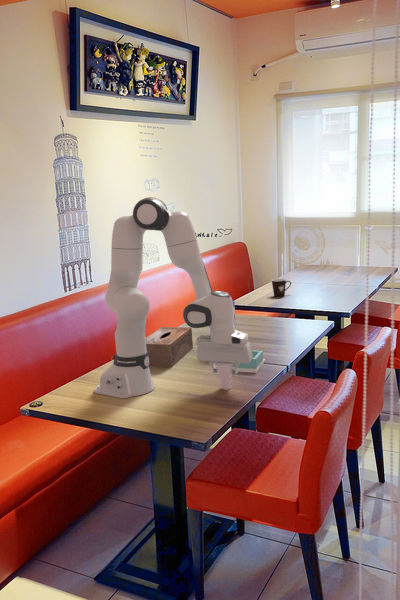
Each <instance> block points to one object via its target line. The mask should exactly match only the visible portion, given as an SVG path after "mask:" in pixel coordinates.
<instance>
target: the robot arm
mask: <svg viewBox="0 0 400 600" xmlns="http://www.w3.org/2000/svg"><path fill="white" fill-rule="evenodd" d="M113 223H114V224H113V228H112V234H111V245H110V246H111V250H110V251H111V255H110V257H111V258H110V259H111V260H110V263H111V264H110V265H111V266H110V268H111V269H110V275H109V281H108V287H107V290H106V292H105V295H104V297H105V298H104V299H105V303H106V305H107V307H108V308H109V309H110V311H112V312H114V313H116V317H117V320H116V330H115V331H114V332H115V333H114V340H115V341H114V342H115V349H116V350H115V351H116V353H114V354H113V355H112V356H111V357H110V360H111V361H112V360H113V362H112V364H111V365H110V366H108V368H106V369H105V370H103V372H102V373H101V375H100V377H99V384H98V385H96V386H95V388H94V390H93V391H94V394H98V395H102V396H103V395H104V396H110V397H114V398H118V399H127V398H128V399H129V398H131V397H136V396H141V395H145V394H148V393H150V392H151V391H153V390H155V383H154V382H153V381H154V380H153V379H152V375H151V370H150V366H149V356H148V351H147V348H146V338H147V336H146V324H147V316H148V314H149V312H150V308H151V304H150V303H151V302H150V300H149V298H148V297H147V296H146V295H145V293H144V292H143V291H141V290H139V289H138V283H139V279H140V276H141V273H142V271H143V263H144V262H143V261H144V257H143V256H144V255H143V253H144V251H143V250H144V249H143V248H144V247H143V246H144V245H143V243H144V235H145V233H146V231H158V232H161V234H162V235H163V238H164V241H165V246H166V249H167V254H168V257H169V259H170V261H171V263H172V264H173V265H174V266H175V267H177V268H179V269H180V270H183V271H185V272H186V273H187V274H188V275H189V277H190V280H191V283H192V286H193V290H194V293H195V299H194V300H193V301H191V302H190V303H188V304H187V305H186V306H185V307H184V309H183V312H182V317H183V320H184V323H185V324H186V325H187V326H189V327H191V328H192V329H201V328H206V327H208V328H209V331H210V335H204V334H202V335H201V334H200V335H199V336H197V337H196V339H195V340H196V341H195V342H196V346H197V347H196V359H197V360H198V361H199V362H202V361H203V362H208V363H209V366H210V368H212V373H214V374H216V373H217V374H218V369H217V366H216V362H233V363H235V365H236V367H235V368H233V369H232V375H237V374H238V373H239V372H238V367H239V365H240V363H249V362H250V361H251V360H252V346H251V342H250V341H248V340H249V334H248V333H246V332H244V331H243V332H242V331H240V330H238V329H236V330H235V326H234V323H233V319H234V308H233V302H232V301H233V299H232V296H231V295H230V293H228V292H226V291H223V290H213V289H212V286H211V282H210V279H209V278H210V277H209V275H208V273H207V270H206V269H207V268H206V266H205V263H204V261H203V258H202V254H201V251H200V247H199V242H198V238H197V234H196V231H195V228H194V225H193V223H192V220H191V218H190V216H189V214H188V213H186V212H184V211H178V210H177V211H169V210H168V207H167V205H166V204H165V202H164V201H163V200H162V199H159V198H157V197H153V196H147V197H145V198H143V199H140V200H139V201H137V202H136V203H135V205H134V207H133V210H132V215H124V216H121V217H119V218H117V219H116V220H115V221H114V222H113Z"/></svg>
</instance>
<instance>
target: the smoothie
mask: <svg viewBox="0 0 400 600" xmlns="http://www.w3.org/2000/svg"><path fill="white" fill-rule="evenodd" d="M233 365H234V364H233V362H216V361H215V366H216V367H217V369H218V372H217V374H218V380H219V385H220V389H222V390H224V391H225V390H230V389H232V381H233V380H232V379H233V374H232V368H233Z"/></svg>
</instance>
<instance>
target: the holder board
mask: <svg viewBox="0 0 400 600" xmlns="http://www.w3.org/2000/svg"><path fill="white" fill-rule="evenodd" d="M265 362H266V358H264V350H258V349H257V350H254V349H253V350H252V360H251V361H250V362H249V363H240V365H239V367H238V373H254V374H255V373H257V372H258V371H259V370H260V369H261V367H262V366H263V365H264V364H265ZM233 364H234V365H233V368H235V367H236V365H235V363H233ZM233 368H232V369H233Z"/></svg>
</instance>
